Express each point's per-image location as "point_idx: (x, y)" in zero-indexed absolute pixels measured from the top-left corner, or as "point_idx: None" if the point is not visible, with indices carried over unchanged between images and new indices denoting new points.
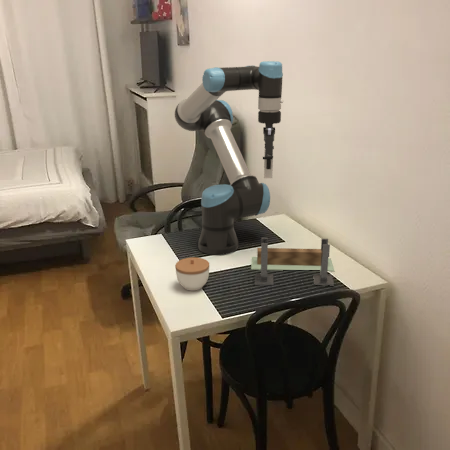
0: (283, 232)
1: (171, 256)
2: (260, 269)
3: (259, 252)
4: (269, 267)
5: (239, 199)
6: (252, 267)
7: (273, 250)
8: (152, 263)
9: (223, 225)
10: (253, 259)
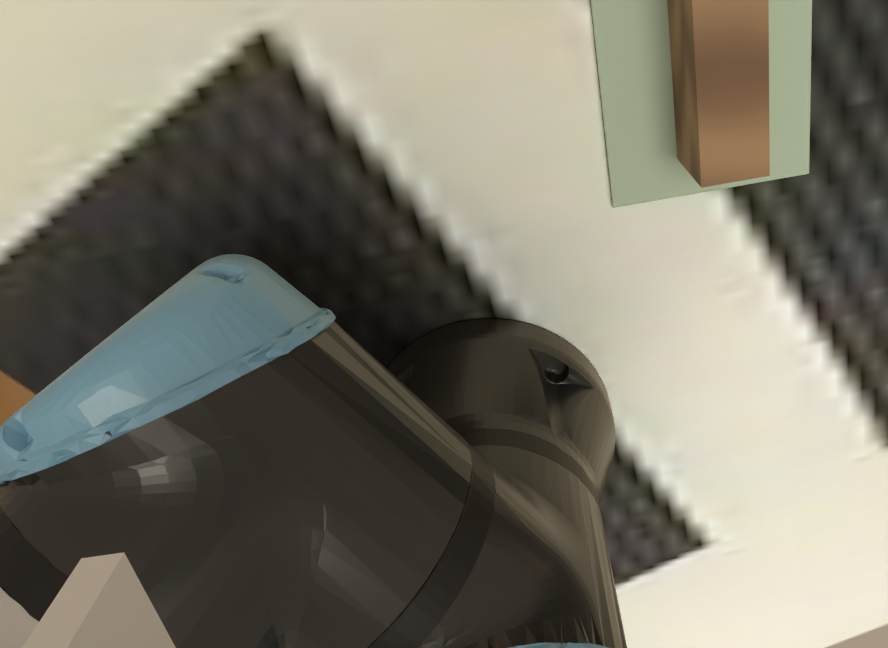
0: (88, 76)
1: (656, 589)
2: (809, 110)
3: (766, 157)
4: (783, 53)
5: (469, 550)
6: (789, 168)
7: (746, 53)
8: (749, 635)
9: (586, 495)
10: (657, 189)
